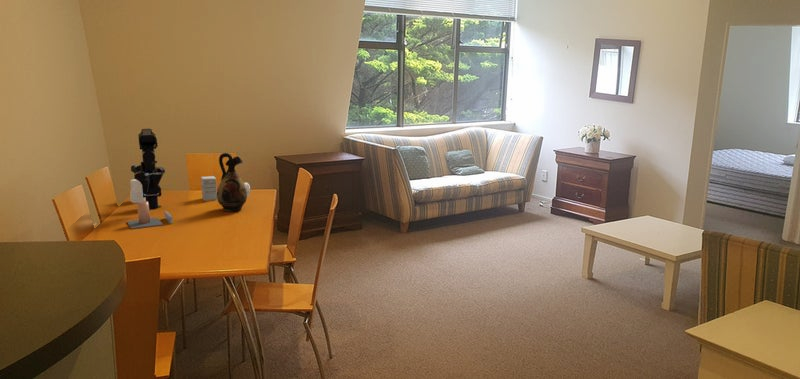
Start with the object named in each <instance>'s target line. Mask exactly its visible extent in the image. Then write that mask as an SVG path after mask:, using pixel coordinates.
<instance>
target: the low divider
mask: <svg viewBox="0 0 800 379" xmlns="http://www.w3.org/2000/svg"><path fill="white" fill-rule="evenodd" d="M164 219H165V220H166V221H167V222H168V223H169V224H170V225H171V224H173V217H172V215H171V214H170V213H169V212H168V211H166V210H165V211H164Z"/></svg>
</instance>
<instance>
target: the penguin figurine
mask: <svg viewBox="0 0 800 379" xmlns="http://www.w3.org/2000/svg"><path fill="white" fill-rule="evenodd" d="M243 183H244V185H245V187H246V191H247V198H249V196H250V193H251V186H250V184H249V182H243Z"/></svg>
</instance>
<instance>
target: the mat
mask: <svg viewBox="0 0 800 379" xmlns="http://www.w3.org/2000/svg"><path fill="white" fill-rule="evenodd" d="M127 223H128V224H127ZM126 224H127V225H128V227H129V228H130V230H136V229H145V227H146V228H153V226H154V227H159V226H161V227H162V226H164V224H163V222H162V221H161V220H160V219H159V217H150V223H147V224H139V219H133V220H127V221H126Z"/></svg>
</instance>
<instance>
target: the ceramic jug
mask: <svg viewBox="0 0 800 379" xmlns="http://www.w3.org/2000/svg"><path fill="white" fill-rule="evenodd" d="M224 158H228V160H227V161H226V162H225V165H224V162H223V160H224ZM243 162H244V161H243V160H242V159H241V158H240V156H234V157H233V156H232V155H231V154H230V153H228V152H223V153H222V154H220V155H219V158H218V163H219V167H220V169H221V172H222V175H221V180H220V183H219V185H218V187H217V200H216V201H217V202H218V204H219V205H220V206H221V207H222V210H223V211H225V212H233V213H234V212H240V211H242V207H243V206H244V204H246V202H247V200H248V197H247V191H246V187H245V185H244V183H245V182H244V181H243V180H242V178H241V176H240V175H239V174H238V173H237V171H236V166H238V165H240V164H243ZM225 166H226V167H227V170H226V168H225Z"/></svg>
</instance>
